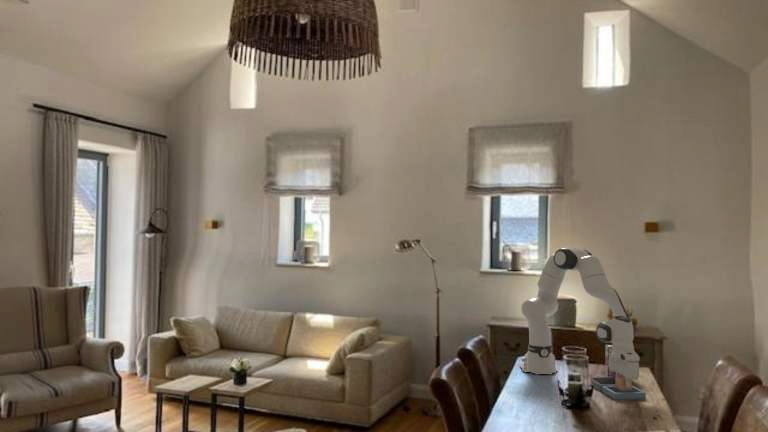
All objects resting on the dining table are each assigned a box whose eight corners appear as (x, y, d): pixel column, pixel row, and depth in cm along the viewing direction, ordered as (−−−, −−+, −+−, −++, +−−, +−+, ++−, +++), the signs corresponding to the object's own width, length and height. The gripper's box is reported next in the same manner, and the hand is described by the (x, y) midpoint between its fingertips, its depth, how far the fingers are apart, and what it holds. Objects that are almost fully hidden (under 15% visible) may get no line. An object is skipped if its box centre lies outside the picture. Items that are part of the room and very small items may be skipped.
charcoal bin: (587, 383, 279) (586, 377, 279) (614, 382, 280) (614, 376, 280) (600, 391, 265) (600, 385, 265) (629, 390, 266) (629, 384, 266)
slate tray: (602, 392, 264) (601, 386, 264) (631, 391, 265) (631, 385, 265) (614, 400, 252) (614, 393, 252) (645, 399, 253) (645, 392, 253)
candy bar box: (607, 380, 285) (607, 346, 286) (605, 377, 290) (604, 344, 291) (631, 380, 284) (631, 347, 285) (628, 378, 289) (627, 345, 290)
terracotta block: (615, 387, 261) (615, 376, 261) (626, 387, 261) (626, 375, 261) (621, 390, 256) (621, 379, 256) (632, 390, 256) (631, 378, 256)
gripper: (605, 348, 269) (605, 378, 268) (627, 358, 248) (628, 390, 248) (618, 348, 269) (618, 378, 269) (641, 358, 249) (642, 390, 249)
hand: (623, 384), depth 258 cm, fingers closed on terracotta block, 5 cm apart
